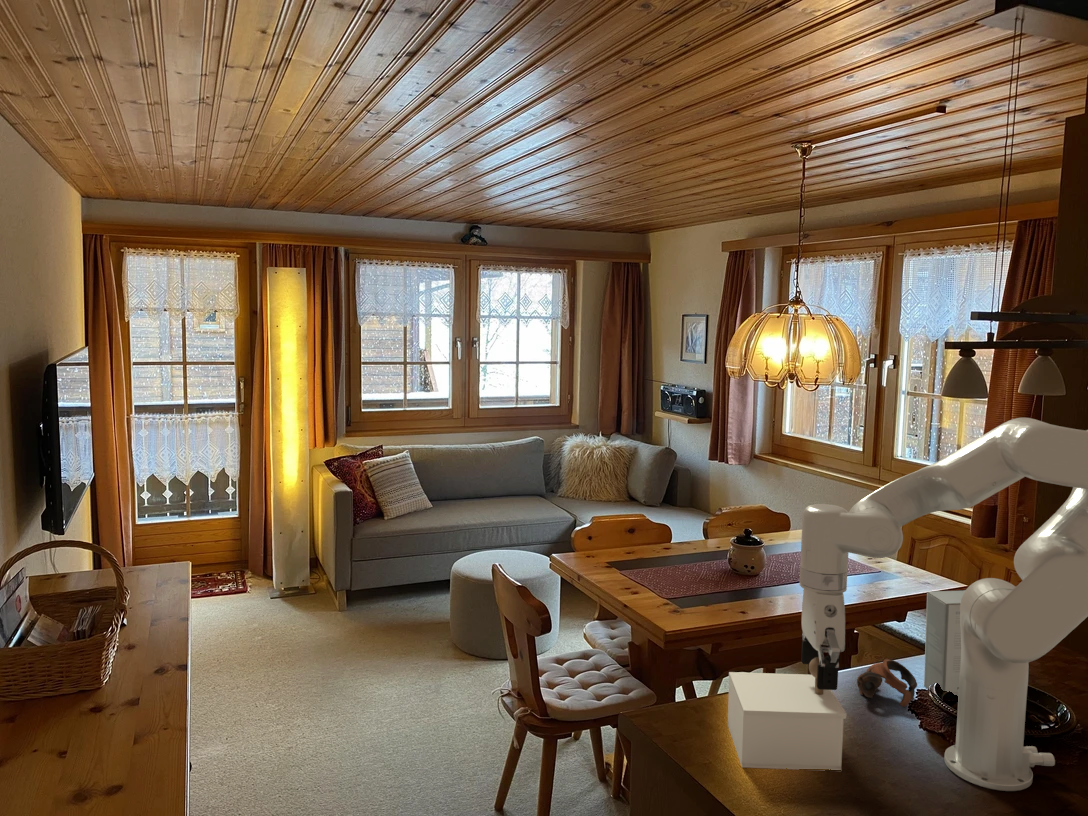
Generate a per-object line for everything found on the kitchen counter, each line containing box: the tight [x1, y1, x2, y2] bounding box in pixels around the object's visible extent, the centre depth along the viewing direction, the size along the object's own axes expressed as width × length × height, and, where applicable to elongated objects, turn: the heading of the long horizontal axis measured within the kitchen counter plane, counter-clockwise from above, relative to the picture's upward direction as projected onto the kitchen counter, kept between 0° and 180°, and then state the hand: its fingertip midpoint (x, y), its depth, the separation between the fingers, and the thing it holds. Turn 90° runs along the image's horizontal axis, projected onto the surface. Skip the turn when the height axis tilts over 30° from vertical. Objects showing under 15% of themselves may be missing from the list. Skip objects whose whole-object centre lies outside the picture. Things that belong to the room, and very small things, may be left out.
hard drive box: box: [923, 589, 966, 696], centre depth 155 cm, size 16×8×20 cm, turn 92°
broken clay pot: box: [856, 658, 918, 708], centre depth 153 cm, size 12×10×8 cm
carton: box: [727, 677, 844, 771], centre depth 135 cm, size 16×14×9 cm
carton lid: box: [728, 657, 847, 720], centre depth 135 cm, size 16×14×7 cm
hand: (818, 675), depth 134 cm, fingers open, 9 cm apart
